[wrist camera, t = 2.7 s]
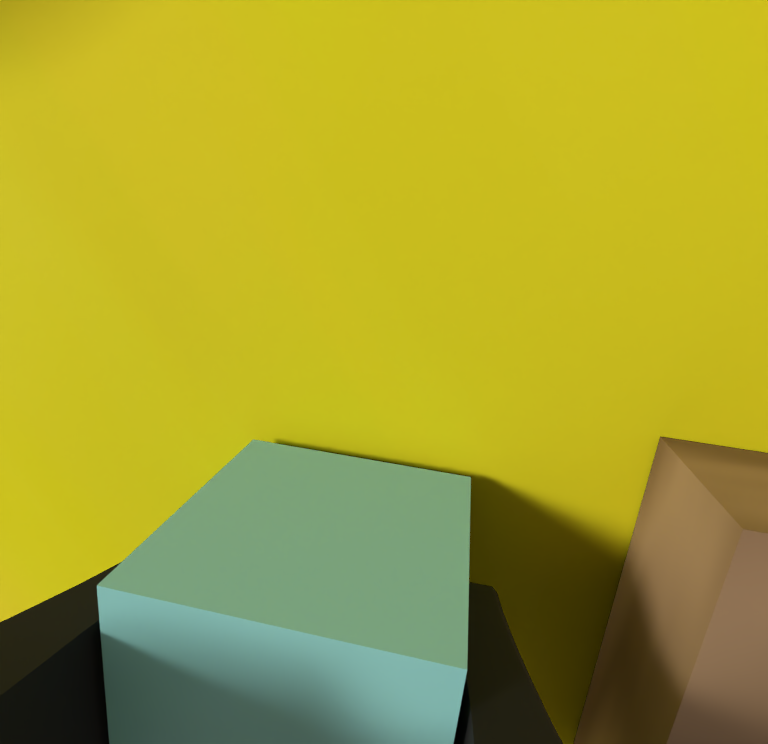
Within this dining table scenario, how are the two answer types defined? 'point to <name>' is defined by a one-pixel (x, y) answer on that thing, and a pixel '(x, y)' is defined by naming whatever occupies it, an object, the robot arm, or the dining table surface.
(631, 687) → the walnut base
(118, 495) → the dining table surface
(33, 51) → the dining table surface
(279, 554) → the teal cube
